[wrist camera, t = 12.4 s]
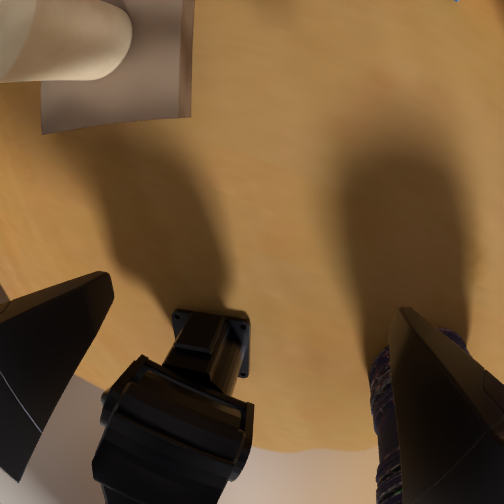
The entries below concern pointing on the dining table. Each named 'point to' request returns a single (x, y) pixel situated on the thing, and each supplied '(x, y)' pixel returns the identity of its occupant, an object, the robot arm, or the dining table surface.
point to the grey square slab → (132, 74)
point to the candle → (61, 39)
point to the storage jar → (390, 425)
